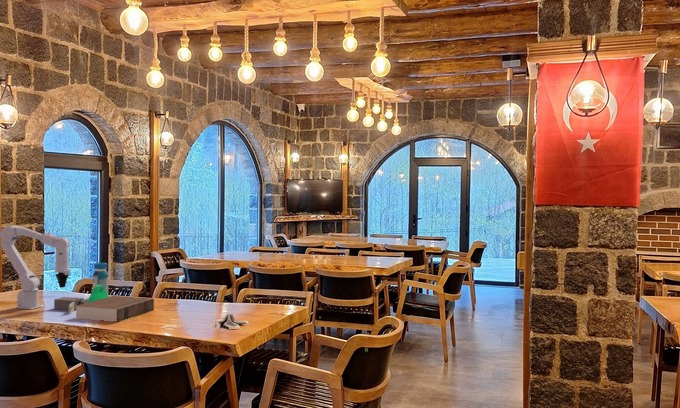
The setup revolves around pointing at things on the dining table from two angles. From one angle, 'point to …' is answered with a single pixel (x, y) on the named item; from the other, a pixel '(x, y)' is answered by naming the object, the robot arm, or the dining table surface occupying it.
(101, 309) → the book
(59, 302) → the camera body
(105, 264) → the beverage bottle
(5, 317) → the dining table surface
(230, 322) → the cloth
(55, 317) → the dining table surface
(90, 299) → the camera mount
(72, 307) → the side door
